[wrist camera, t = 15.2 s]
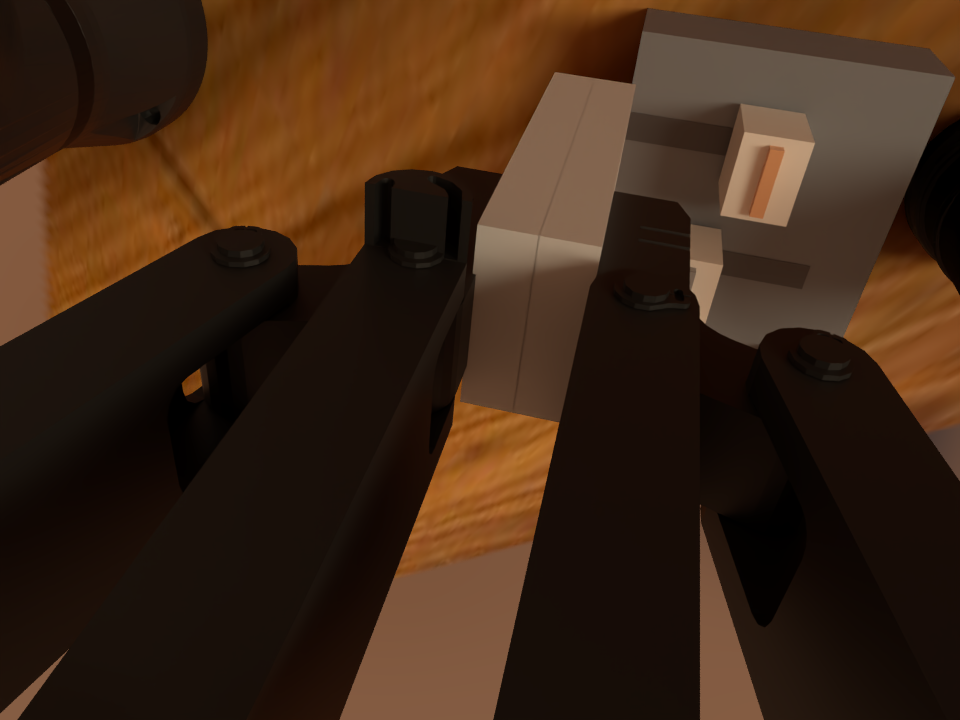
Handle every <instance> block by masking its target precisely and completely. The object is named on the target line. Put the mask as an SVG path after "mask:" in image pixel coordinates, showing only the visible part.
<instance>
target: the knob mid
mask: <svg viewBox="0 0 960 720" xmlns="http://www.w3.org/2000/svg"><path fill="white" fill-rule="evenodd" d="M722 268H723V253H722V235H721V229H715V228H710V227H704V226H698V225H693V224H691V235H690V290H691V291H692V292H693V293H694V294H695V295H696V298H697V300H698V303H699V306H700V319H701V320H702V321H703V322H704V323H706V320H707V317H708V313H709V310H710V307H711V304H712V300H713V297H714V294H715V291H716V287H717V284H718V281H719V277H720V274H721V271H722Z"/></svg>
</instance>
